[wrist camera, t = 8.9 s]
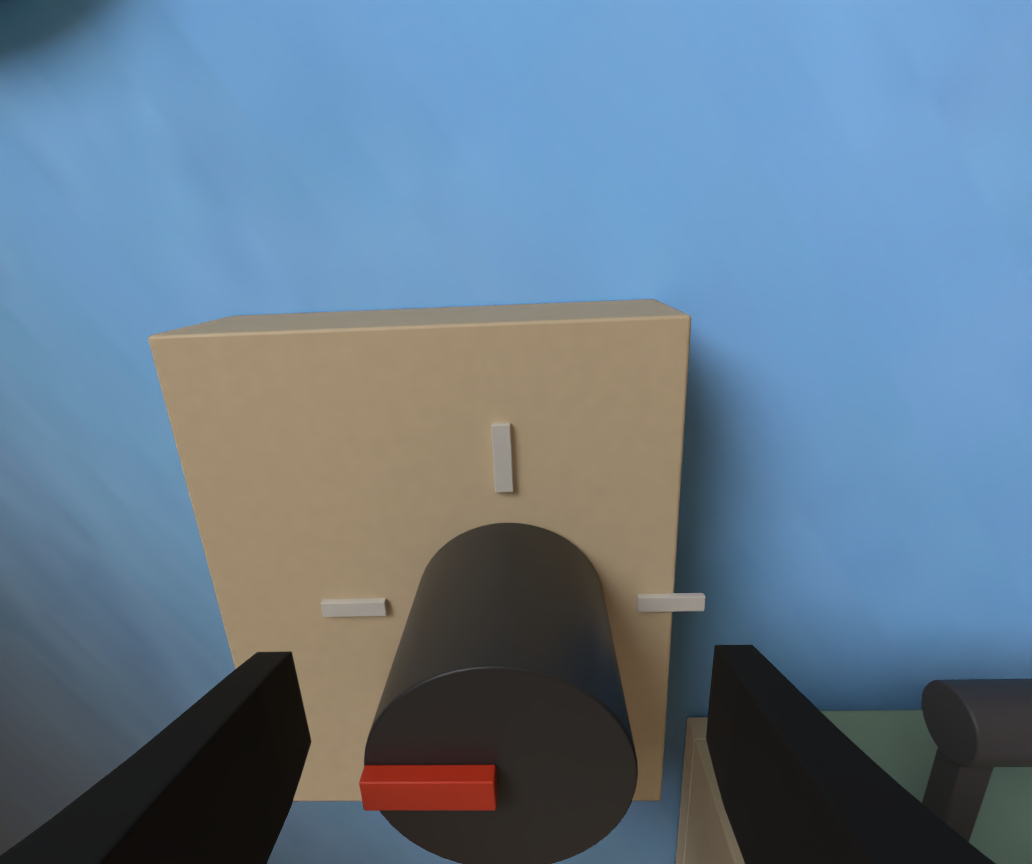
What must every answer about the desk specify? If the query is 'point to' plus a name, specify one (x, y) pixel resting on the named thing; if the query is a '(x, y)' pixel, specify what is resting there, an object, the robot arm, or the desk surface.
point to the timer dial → (503, 706)
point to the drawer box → (703, 806)
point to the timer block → (428, 483)
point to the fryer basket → (961, 758)
